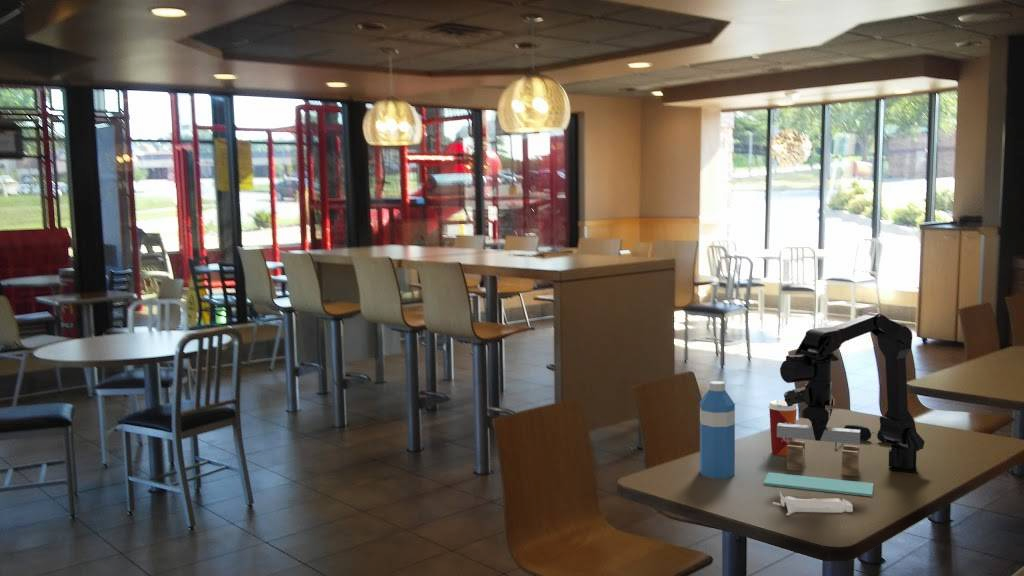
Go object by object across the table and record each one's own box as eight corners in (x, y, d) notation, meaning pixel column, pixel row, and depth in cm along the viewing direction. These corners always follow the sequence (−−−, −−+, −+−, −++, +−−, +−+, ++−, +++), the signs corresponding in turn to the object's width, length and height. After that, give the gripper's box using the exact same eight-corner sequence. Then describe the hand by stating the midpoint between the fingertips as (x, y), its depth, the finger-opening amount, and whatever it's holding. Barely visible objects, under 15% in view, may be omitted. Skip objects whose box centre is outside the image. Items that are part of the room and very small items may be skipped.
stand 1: (804, 464, 242) (804, 441, 241) (802, 470, 236) (802, 447, 235) (789, 462, 243) (789, 440, 242) (787, 469, 238) (787, 445, 237)
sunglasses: (905, 446, 258) (905, 430, 257) (897, 465, 246) (898, 449, 245) (844, 438, 267) (844, 423, 266) (834, 457, 255) (834, 441, 254)
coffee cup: (791, 459, 247) (792, 407, 245) (763, 454, 252) (763, 403, 250) (801, 451, 253) (802, 401, 252) (774, 447, 258) (774, 398, 257)
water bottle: (737, 470, 238) (738, 380, 235) (731, 480, 229) (731, 387, 227) (703, 466, 242) (703, 378, 239) (696, 476, 233) (695, 384, 231)
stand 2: (858, 469, 236) (859, 446, 235) (857, 476, 230) (858, 452, 230) (843, 468, 237) (843, 444, 237) (841, 474, 232) (842, 450, 231)
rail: (860, 441, 220) (860, 429, 220) (859, 444, 218) (859, 432, 217) (778, 434, 229) (778, 422, 228) (776, 436, 226) (776, 425, 226)
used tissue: (772, 503, 213) (772, 487, 213) (850, 508, 209) (850, 492, 208) (773, 518, 203) (773, 501, 203) (856, 523, 198) (856, 506, 198)
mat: (873, 485, 223) (873, 483, 223) (872, 496, 215) (872, 494, 215) (768, 474, 233) (768, 472, 233) (763, 484, 225) (763, 482, 225)
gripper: (790, 370, 233) (790, 427, 235) (781, 384, 217) (780, 445, 218) (835, 373, 229) (834, 431, 230) (828, 387, 212) (827, 449, 213)
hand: (818, 438), depth 223 cm, fingers closed on rail, 3 cm apart
